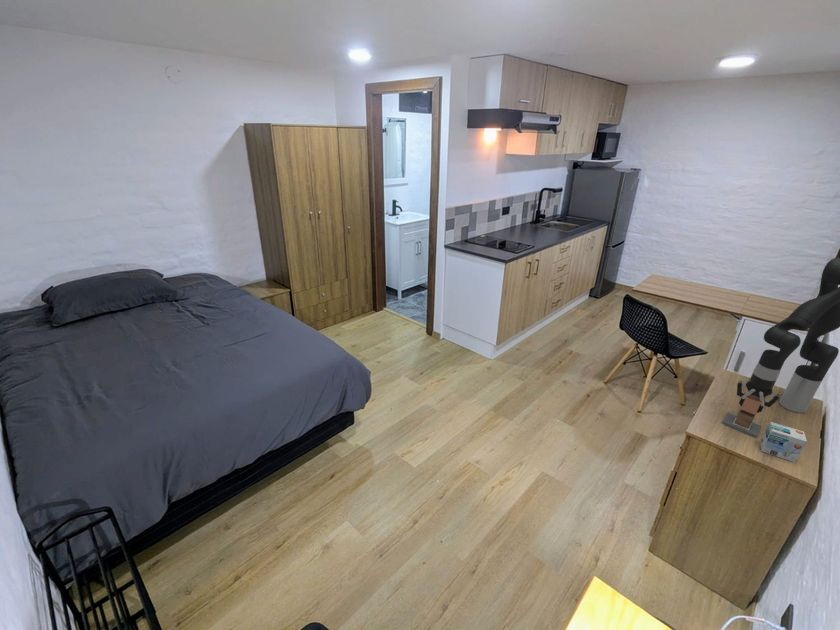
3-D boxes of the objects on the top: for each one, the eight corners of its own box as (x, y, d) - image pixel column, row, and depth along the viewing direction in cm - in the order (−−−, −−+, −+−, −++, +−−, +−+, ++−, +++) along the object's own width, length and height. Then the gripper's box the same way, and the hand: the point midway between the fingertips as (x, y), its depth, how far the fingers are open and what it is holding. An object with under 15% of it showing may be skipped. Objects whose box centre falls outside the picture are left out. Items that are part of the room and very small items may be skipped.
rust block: (743, 403, 169) (748, 392, 166) (757, 409, 166) (763, 398, 163) (740, 409, 166) (745, 397, 163) (755, 414, 163) (760, 403, 160)
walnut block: (736, 418, 172) (741, 407, 170) (751, 423, 169) (756, 412, 166) (734, 423, 169) (739, 412, 167) (748, 429, 166) (753, 418, 163)
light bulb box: (760, 451, 157) (771, 430, 152) (759, 441, 162) (769, 420, 157) (795, 463, 151) (808, 442, 147) (793, 452, 156) (804, 431, 152)
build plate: (727, 414, 177) (728, 412, 176) (760, 428, 169) (761, 425, 168) (722, 423, 171) (723, 421, 170) (756, 438, 163) (757, 435, 163)
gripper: (789, 378, 156) (772, 412, 163) (745, 364, 165) (731, 396, 173) (786, 386, 151) (769, 421, 159) (741, 370, 161) (726, 404, 168)
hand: (749, 408), depth 166 cm, fingers closed on rust block, 5 cm apart
